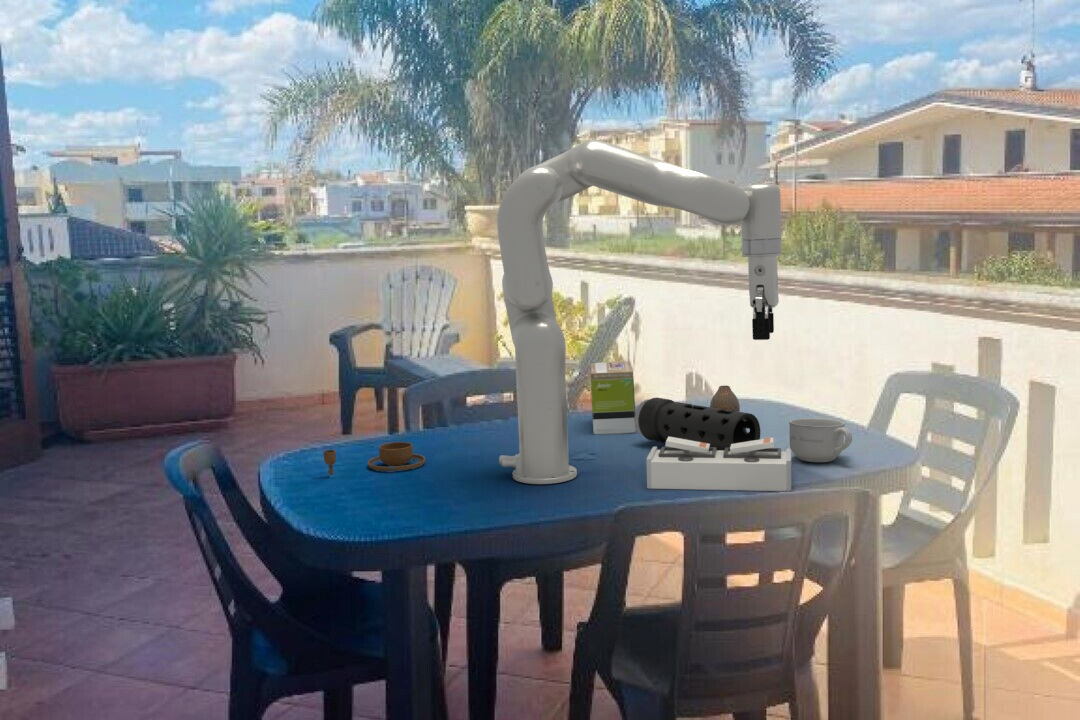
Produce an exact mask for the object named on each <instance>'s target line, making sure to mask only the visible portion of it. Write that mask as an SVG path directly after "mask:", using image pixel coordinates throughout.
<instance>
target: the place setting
mask: <svg viewBox="0 0 1080 720" xmlns="http://www.w3.org/2000/svg"><path fill="white" fill-rule="evenodd" d="M413 451H414V450H413V444H412V443H411V442H406V441H394V442H393V441H392V442H386V443H382V444H380V445H379V446H378V453H379V455H378V456H376V457H373V458H371V459H368V461H367V465H368V468H369V469H370V468H371V469H374V470H379V471H398V470H408V469H413V468H417V467H419V468H421V467H423V466H424V465H425V463H426V457H425V456H424V455H421V454H417V453H414V452H413ZM336 452H337V450H335V449H326V450H323V461H324V464H325V465H328V474H329V476H330V475H333V476H334V473H335V472H334V469H333V467H334V466H333V465H335V463H336V461H337V453H336ZM411 459H418V460H420V462H418V461H417V462H415V463H412V464H408V463H409V462H411V461H412V460H411ZM379 460H381V461H382V462H381V463H383V464H385V465H386V466H381V465H379V466H378V465H372V463H374V462H376V461H379ZM423 464H424V465H423ZM387 465H388V466H396V467H388V466H387ZM402 465H405V466H402ZM422 465H423V466H422ZM420 466H421V467H420ZM371 469H370V470H371ZM417 469H418V468H417ZM374 470H373V471H374ZM413 470H414V469H413Z"/></svg>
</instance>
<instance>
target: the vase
mask: <svg viewBox="0 0 1080 720" xmlns="http://www.w3.org/2000/svg"><path fill="white" fill-rule="evenodd" d="M709 407H712V408H718V409H724V410H730V411H736V412H741V411H740V407H741V405H740V402H739V399H738V396H736V394H735V392H734V391H733V390H732V388H731V386H729V385H719V387H718V389H717V391H715V393H714V395H713V396H712V398H711V401H710V404H709Z"/></svg>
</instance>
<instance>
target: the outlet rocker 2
mask: <svg viewBox="0 0 1080 720" xmlns="http://www.w3.org/2000/svg"><path fill="white" fill-rule="evenodd" d="M767 448H775V437H767V438H766V437H765V438H762V439H761V438H760V440H754V441H747V442H741V443H735V444H731V447H730V452H731V454H735V453H741V452H748V451H749V452H750V453H751V454H755V453H756V450H760V449H767Z"/></svg>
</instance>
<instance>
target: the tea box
mask: <svg viewBox="0 0 1080 720" xmlns="http://www.w3.org/2000/svg"><path fill="white" fill-rule="evenodd" d="M634 380H635V379H634V371H633V368H632V365H631V361H630V360H627V361H607V362H606V361H605V362H591V363H590V396H591V398H590V399H591V414H592V415H591V416H592V429H593V430H592V431H593V434H594V435H616V434H617V435H619V434H635V433H636V431H637V429H636V427H635V421H634V420H635V413H636V405H635V404H636V402H635V401H636V400H635V399H636V398H635V382H634Z"/></svg>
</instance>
